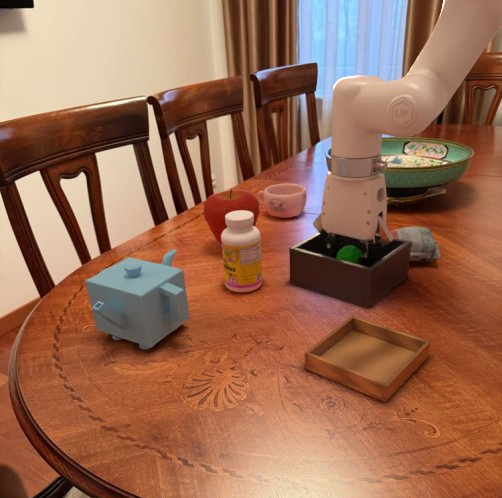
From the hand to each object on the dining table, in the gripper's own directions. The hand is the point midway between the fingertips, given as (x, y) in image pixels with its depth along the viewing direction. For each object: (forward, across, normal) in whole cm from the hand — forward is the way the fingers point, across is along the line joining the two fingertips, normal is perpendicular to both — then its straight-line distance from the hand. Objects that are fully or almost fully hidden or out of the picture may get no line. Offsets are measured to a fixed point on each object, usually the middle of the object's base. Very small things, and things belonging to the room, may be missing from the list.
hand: (349, 270), depth 90 cm
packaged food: (+2, -4, -15) cm, 16 cm away
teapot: (+2, +16, +32) cm, 36 cm away
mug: (+2, +31, -21) cm, 38 cm away
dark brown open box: (+2, 0, 0) cm, 2 cm away
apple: (+2, +27, 0) cm, 27 cm away
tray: (+2, -15, +20) cm, 25 cm away
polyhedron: (+1, 0, 0) cm, 1 cm away
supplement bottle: (+2, +14, +12) cm, 19 cm away
